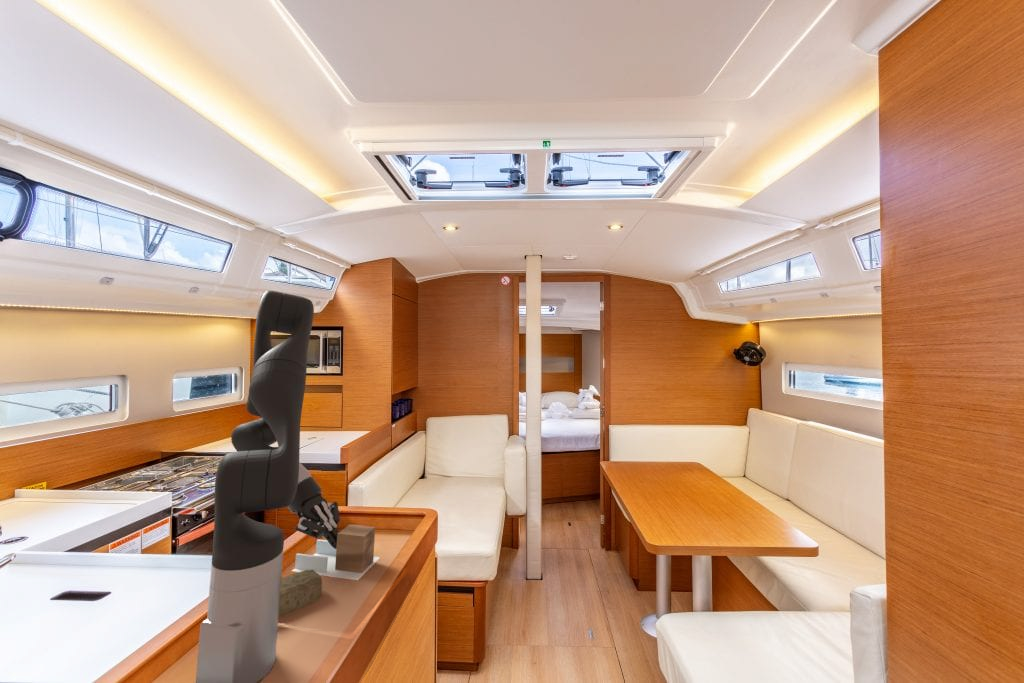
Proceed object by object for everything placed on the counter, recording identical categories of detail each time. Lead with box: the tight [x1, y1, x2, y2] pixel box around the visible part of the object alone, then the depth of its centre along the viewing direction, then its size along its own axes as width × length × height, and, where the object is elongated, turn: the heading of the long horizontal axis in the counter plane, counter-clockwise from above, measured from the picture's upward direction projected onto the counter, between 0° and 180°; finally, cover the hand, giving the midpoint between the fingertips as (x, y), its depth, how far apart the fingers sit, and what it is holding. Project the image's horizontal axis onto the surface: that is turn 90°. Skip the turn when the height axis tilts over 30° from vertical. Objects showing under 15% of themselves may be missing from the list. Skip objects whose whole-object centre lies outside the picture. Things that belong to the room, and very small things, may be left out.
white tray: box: [291, 538, 381, 581], centre depth 89 cm, size 10×20×4 cm, turn 81°
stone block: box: [278, 570, 323, 617], centre depth 74 cm, size 6×12×5 cm, turn 138°
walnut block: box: [335, 523, 376, 573], centre depth 89 cm, size 5×6×8 cm
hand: (340, 545), depth 89 cm, fingers closed
